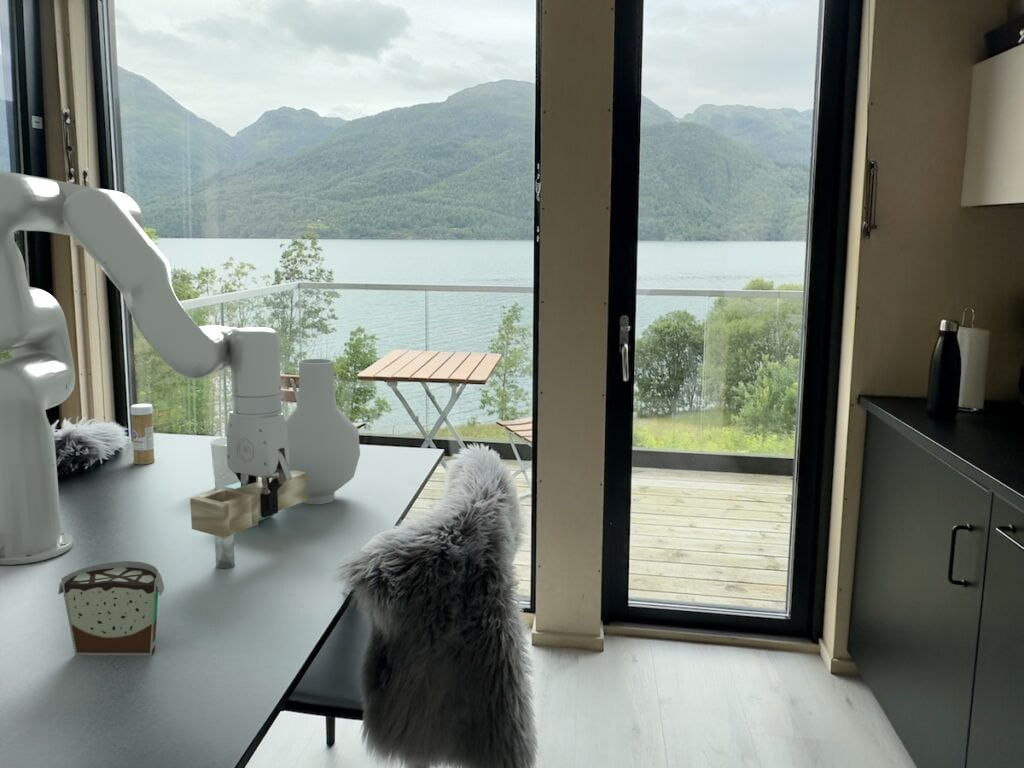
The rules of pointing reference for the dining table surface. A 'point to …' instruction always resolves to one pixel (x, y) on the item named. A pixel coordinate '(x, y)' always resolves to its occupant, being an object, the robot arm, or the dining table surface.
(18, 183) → the robot arm
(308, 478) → the vase
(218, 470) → the white cup
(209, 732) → the dining table surface
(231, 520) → the link
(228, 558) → the post
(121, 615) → the food container
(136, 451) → the sprinkles bottle
